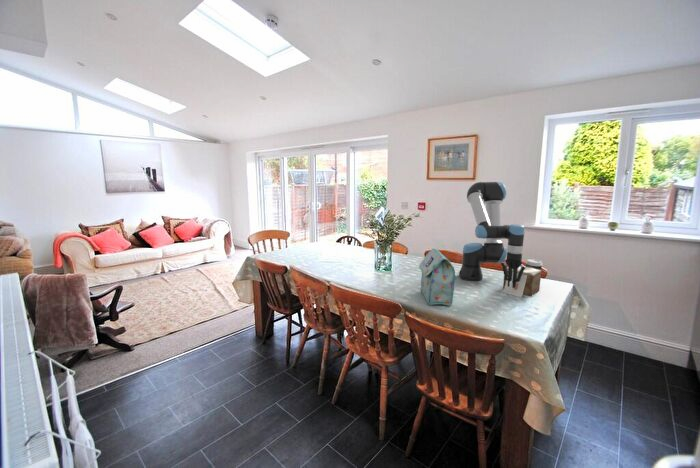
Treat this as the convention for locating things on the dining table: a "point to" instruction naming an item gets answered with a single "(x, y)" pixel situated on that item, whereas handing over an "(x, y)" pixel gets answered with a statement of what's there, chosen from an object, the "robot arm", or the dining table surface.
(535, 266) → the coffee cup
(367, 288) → the dining table surface
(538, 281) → the cardboard box
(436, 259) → the lunch bag
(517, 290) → the white flat panel
